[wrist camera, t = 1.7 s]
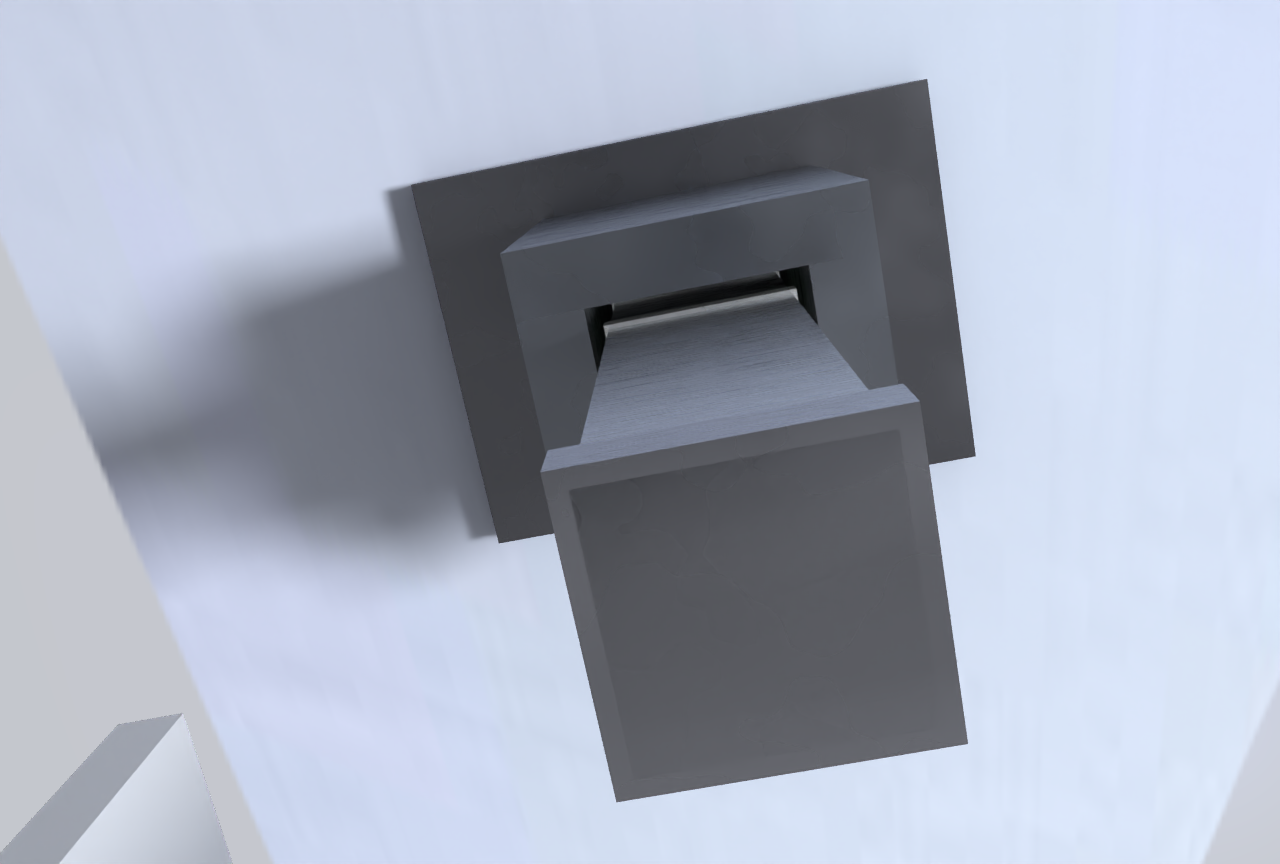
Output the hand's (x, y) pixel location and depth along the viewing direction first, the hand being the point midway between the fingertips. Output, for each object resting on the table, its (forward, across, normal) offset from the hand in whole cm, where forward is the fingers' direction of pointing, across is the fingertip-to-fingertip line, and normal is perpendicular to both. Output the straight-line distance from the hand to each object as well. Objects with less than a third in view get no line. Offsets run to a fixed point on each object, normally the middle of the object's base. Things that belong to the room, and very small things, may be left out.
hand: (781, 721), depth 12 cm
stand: (+26, 0, 0) cm, 26 cm away
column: (+24, 0, 0) cm, 25 cm away
